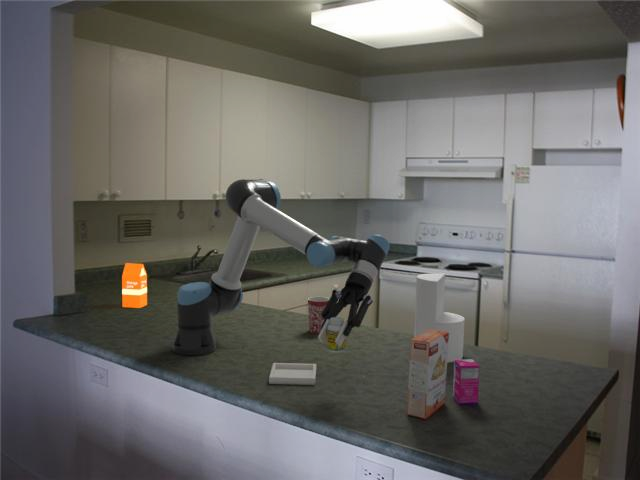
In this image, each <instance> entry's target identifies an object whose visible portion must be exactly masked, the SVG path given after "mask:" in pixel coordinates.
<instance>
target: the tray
mask: <svg viewBox="0 0 640 480" xmlns="http://www.w3.org/2000/svg"><path fill="white" fill-rule="evenodd" d="M270 370H271V371H270V373H269V377H268V384H270V385H274V384H275V385H303V386H304V385H305V386H309V385H310V386H316V379H317V364H316V363H300V362H299V363H297V362H296V363H292V362H291V363H290V362H289V363H287V362H273V363H272V366H271V369H270Z"/></svg>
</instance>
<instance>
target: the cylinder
mask: <svg viewBox="0 0 640 480" xmlns="http://www.w3.org/2000/svg"><path fill="white" fill-rule="evenodd" d="M415 279H416V281H415V282H416V284H415V286H416V287H415V303H414V304H415V309H414V310H415V311H414V333H413V334H414V335H413V338H415V337H417V336H419V335H421V334H423V333H425V332H426V331H428V330H430V329H433V330H439V331H445V332H448V333H449V340H448V356H447V363H454V360H463V356H464V337H465V317H464V316H463V315H460V314H457V313H453V312H448V311H447V312H446V311H444V306H445V304H444V303H445V288H446V287H445V285H446V284H445V283H446V282H445V281H446V274H445V273H421V274H417V275H416V278H415Z"/></svg>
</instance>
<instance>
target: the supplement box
mask: <svg viewBox="0 0 640 480" xmlns="http://www.w3.org/2000/svg"><path fill="white" fill-rule="evenodd" d="M452 382H453V386H452V387H453V388H452V389H453V390H452V398H453V399H454V400H455V401H456V402H457V404H458V405H459V406H461V405H463V406H468V405H470V406H471V405H474V406H475V405H476V406H477V405H479V392H480V390H479V389H480V388H479V385H480V364H478V363H477V362H476V361H475V360H474V359H473V358H471V359H470V358H469V359H466V358H465V359H461V360H454V362H453V381H452Z"/></svg>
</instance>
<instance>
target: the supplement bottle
mask: <svg viewBox="0 0 640 480" xmlns="http://www.w3.org/2000/svg"><path fill="white" fill-rule="evenodd" d="M344 320H345V319H344V318H343V317H339V316H336V317H332V318H330V325H329V326H328V328H327V337H326V350H327V351H328V352H329V353H333V354H337V353H338V354H341V353H344V352H345V351H346V337H347V336H346V337H345V339H344V341H343V343H342V345H341V347H338V345H337V344H336V342H335V340H336V338H337V336H338V334H339V332H340V330H341V328H342V326H343V324H344V323H345V322H344Z"/></svg>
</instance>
